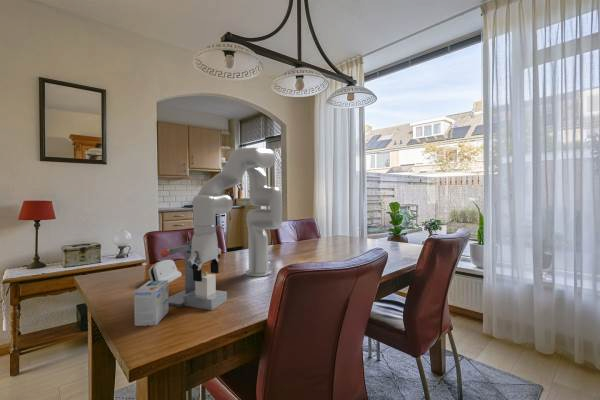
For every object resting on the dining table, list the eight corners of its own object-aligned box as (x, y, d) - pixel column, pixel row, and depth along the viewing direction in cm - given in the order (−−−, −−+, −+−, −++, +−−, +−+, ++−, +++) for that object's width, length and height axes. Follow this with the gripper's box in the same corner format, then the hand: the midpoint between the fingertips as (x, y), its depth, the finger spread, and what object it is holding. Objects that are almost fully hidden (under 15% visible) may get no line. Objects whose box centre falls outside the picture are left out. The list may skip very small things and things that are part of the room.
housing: (204, 290, 111) (204, 269, 111) (215, 291, 110) (215, 271, 110) (195, 294, 107) (195, 273, 107) (207, 296, 105) (207, 274, 105)
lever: (199, 246, 127) (199, 239, 127) (206, 247, 126) (206, 239, 125) (157, 258, 105) (157, 248, 105) (164, 258, 104) (164, 249, 104)
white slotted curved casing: (162, 286, 128) (154, 263, 128) (152, 289, 128) (145, 267, 128) (182, 275, 144) (175, 255, 145) (173, 278, 145) (166, 258, 145)
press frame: (192, 289, 124) (191, 240, 123) (236, 295, 117) (236, 243, 116) (159, 303, 108) (159, 248, 107) (208, 311, 101) (208, 252, 100)
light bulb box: (148, 312, 100) (148, 280, 100) (169, 311, 101) (169, 279, 101) (133, 326, 90) (133, 290, 89) (157, 325, 90) (156, 290, 90)
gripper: (211, 226, 117) (212, 269, 118) (179, 233, 101) (181, 283, 102) (227, 226, 115) (228, 271, 115) (197, 234, 98) (199, 285, 99)
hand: (206, 276), depth 109 cm, fingers open, 9 cm apart
